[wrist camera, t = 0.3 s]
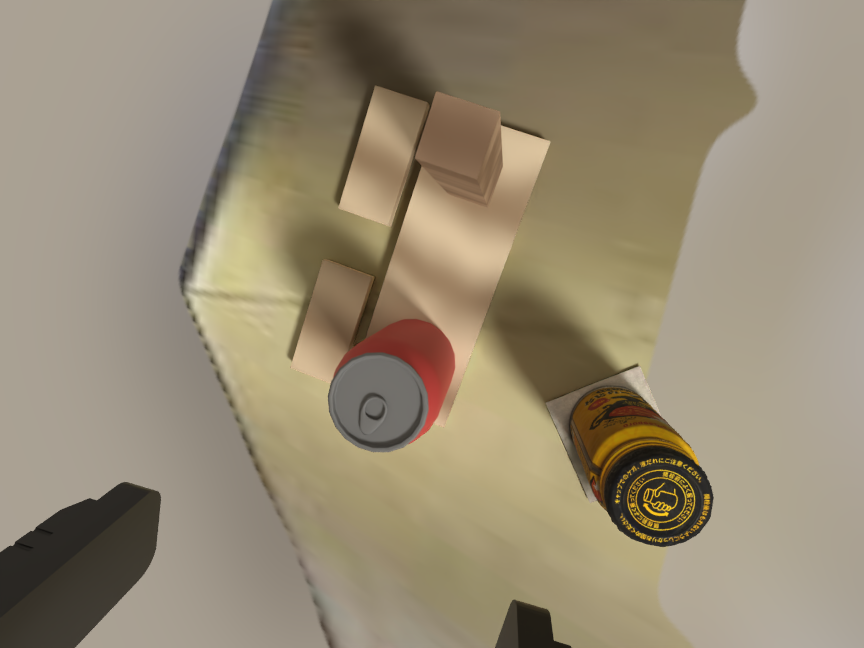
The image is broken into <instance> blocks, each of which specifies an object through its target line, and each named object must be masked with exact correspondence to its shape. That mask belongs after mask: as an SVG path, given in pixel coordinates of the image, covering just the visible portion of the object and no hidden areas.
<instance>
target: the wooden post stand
mask: <svg viewBox="0 0 864 648" xmlns="http://www.w3.org/2000/svg"><path fill="white" fill-rule="evenodd" d="M549 144H550V141H547V140H544V139H541V138H538V137H535V136H532V135H529V134H526V133H523V132H520V131H516V130H513V129H510V128H507V127H504V126H501V118H500V112H499V111H496V110H493V109H490V108H487V107H484V106H481V105H478V104H475V103H471V102H468V101H465V100H462V99H459V98H456V97H453V96H450V95H447V94H443V93H440V92H437V91H436V93H435V96H434V99H433V103H432V106H431V109H430V112H429V115H428V118H427V121H426V124H425V127H424V130H423V133H422V137H421V140H420V143H419V146H418V149H417V152H416V155H415V159H416V160H417V161H418V162H419V163H420V164H421V165H422V167H421V170H420V173H419V176H418V179H417V182H416V185H415V188H414V191H413V194H412V197H411V200H410V203H409V206H408V209H407V212H406V215H405V218H404V222H403V225H402V228H401V231H400V234H399V237H398V240H397V243H396V246H395V249H394V252H393V255H392V258H391V261H390V264H389V267H388V270H387V273H386V276H385V280H384V283H383V286H382V289H381V292H380V295H379V298H378V301H377V304H376V307H375V310H374V313H373V316H372V319H371V322H370V325H369V328H368V331H367V335H366V338H368V337H370V336H371V335H373V334H375V333H376V332H378V331H380V330H381V329H383V328H385V327H386V326H388V325H390V324H392V323H395V322H397V321H400V320H403V319H419V320H422V321H426V322H429V323H431V324H432V325H434V326H435V327H437V328H438V329H440V330H441V331H442V332H443V333H444V335H445V336H446V337H447V338H448V340H449V341H450V343H451V346H452V348H453V351H454V353H455V371H454V374H453V378H452V381H451V384H450V386H449V389H448V392H447V394H446V397H445V399H444V402H443V405H442V407H441V410H440V412H439V415H438V417H437V419H436V420H435V422H434V423H433V424H436V425H438V426H441V427H443V428H444V427H445V424H446V421H447V419H448V416H449V413H450V411H451V408H452V405H453V403H454V400H455V397H456V395H457V392H458V389H459V386H460V384H461V381H462V378H463V376H464V373H465V370H466V368H467V365H468V362H469V360H470V357H471V354H472V352H473V349H474V346H475V343H476V341H477V338H478V335H479V333H480V330H481V327H482V325H483V322H484V319H485V317H486V314H487V311H488V308H489V306H490V303H491V300H492V298H493V295H494V292H495V290H496V287H497V284H498V282H499V279H500V276H501V274H502V271H503V268H504V265H505V263H506V260H507V257H508V255H509V252H510V249H511V247H512V244H513V241H514V239H515V236H516V233H517V230H518V228H519V225H520V222H521V220H522V217H523V214H524V212H525V209H526V206H527V204H528V201H529V198H530V195H531V193H532V190H533V187H534V185H535V182H536V179H537V177H538V174H539V171H540V169H541V166H542V163H543V161H544V158H545V155H546V152H547V150H548V147H549ZM366 338H365V339H366Z"/></svg>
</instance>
